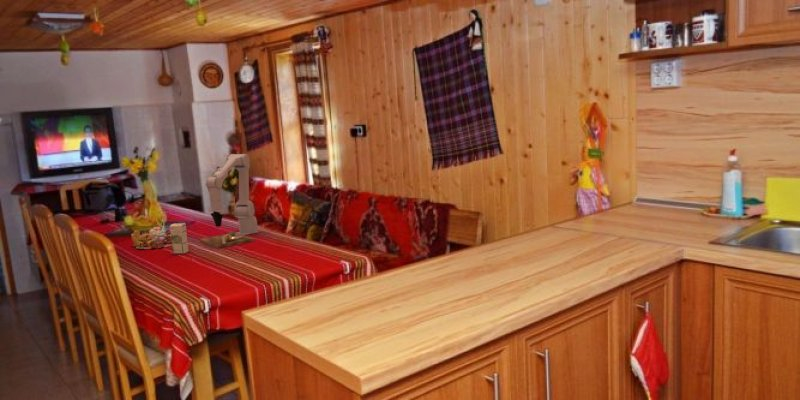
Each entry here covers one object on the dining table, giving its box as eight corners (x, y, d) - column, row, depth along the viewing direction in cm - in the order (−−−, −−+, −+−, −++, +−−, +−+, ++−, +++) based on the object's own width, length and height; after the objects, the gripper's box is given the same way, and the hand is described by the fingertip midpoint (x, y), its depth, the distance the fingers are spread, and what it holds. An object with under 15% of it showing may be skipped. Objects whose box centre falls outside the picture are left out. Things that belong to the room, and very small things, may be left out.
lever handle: (225, 236, 332) (224, 230, 332) (245, 235, 332) (244, 229, 331) (213, 244, 315) (212, 237, 315) (234, 243, 314) (233, 237, 314)
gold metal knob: (231, 240, 321) (230, 234, 321) (232, 241, 320) (232, 235, 319) (228, 241, 320) (227, 235, 320) (229, 242, 319) (229, 235, 318)
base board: (235, 235, 342) (235, 232, 341) (254, 241, 325) (253, 238, 325) (200, 241, 329) (199, 239, 329) (217, 248, 312) (217, 245, 312)
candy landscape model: (149, 252, 313) (147, 234, 311) (124, 247, 327) (122, 230, 325) (192, 241, 332) (190, 224, 331) (167, 237, 346) (165, 221, 345)
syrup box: (188, 251, 310) (185, 222, 308) (183, 254, 305) (180, 225, 302) (178, 251, 311) (174, 222, 309) (172, 254, 305) (169, 225, 303)
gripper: (202, 200, 321) (205, 225, 323) (214, 202, 310) (217, 229, 312) (215, 198, 326) (218, 223, 328) (227, 200, 314) (230, 227, 317)
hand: (218, 226), depth 320 cm, fingers closed
